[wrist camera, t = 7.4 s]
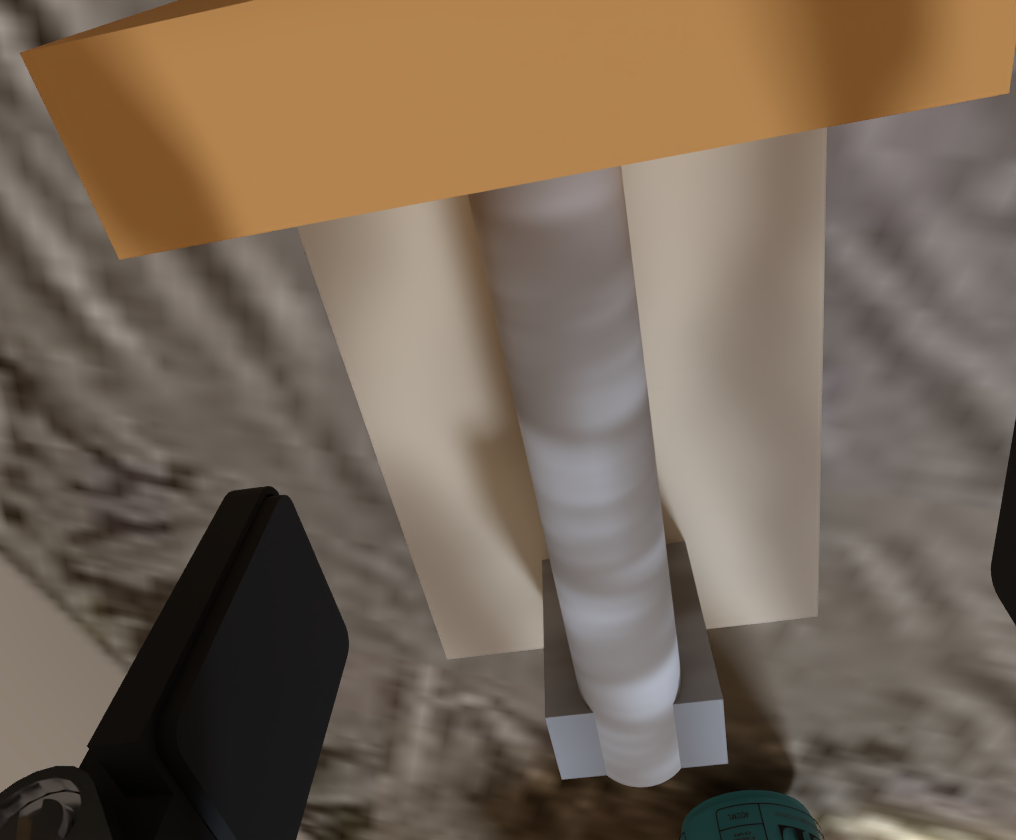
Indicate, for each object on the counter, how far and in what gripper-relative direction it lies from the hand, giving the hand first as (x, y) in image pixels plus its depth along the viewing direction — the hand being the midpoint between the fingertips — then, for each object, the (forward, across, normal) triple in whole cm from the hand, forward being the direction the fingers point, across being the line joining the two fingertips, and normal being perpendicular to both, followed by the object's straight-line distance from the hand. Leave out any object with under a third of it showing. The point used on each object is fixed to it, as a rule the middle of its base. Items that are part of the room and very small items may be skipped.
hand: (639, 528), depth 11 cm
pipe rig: (+14, +1, +2) cm, 15 cm away
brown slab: (+11, +1, -5) cm, 13 cm away
